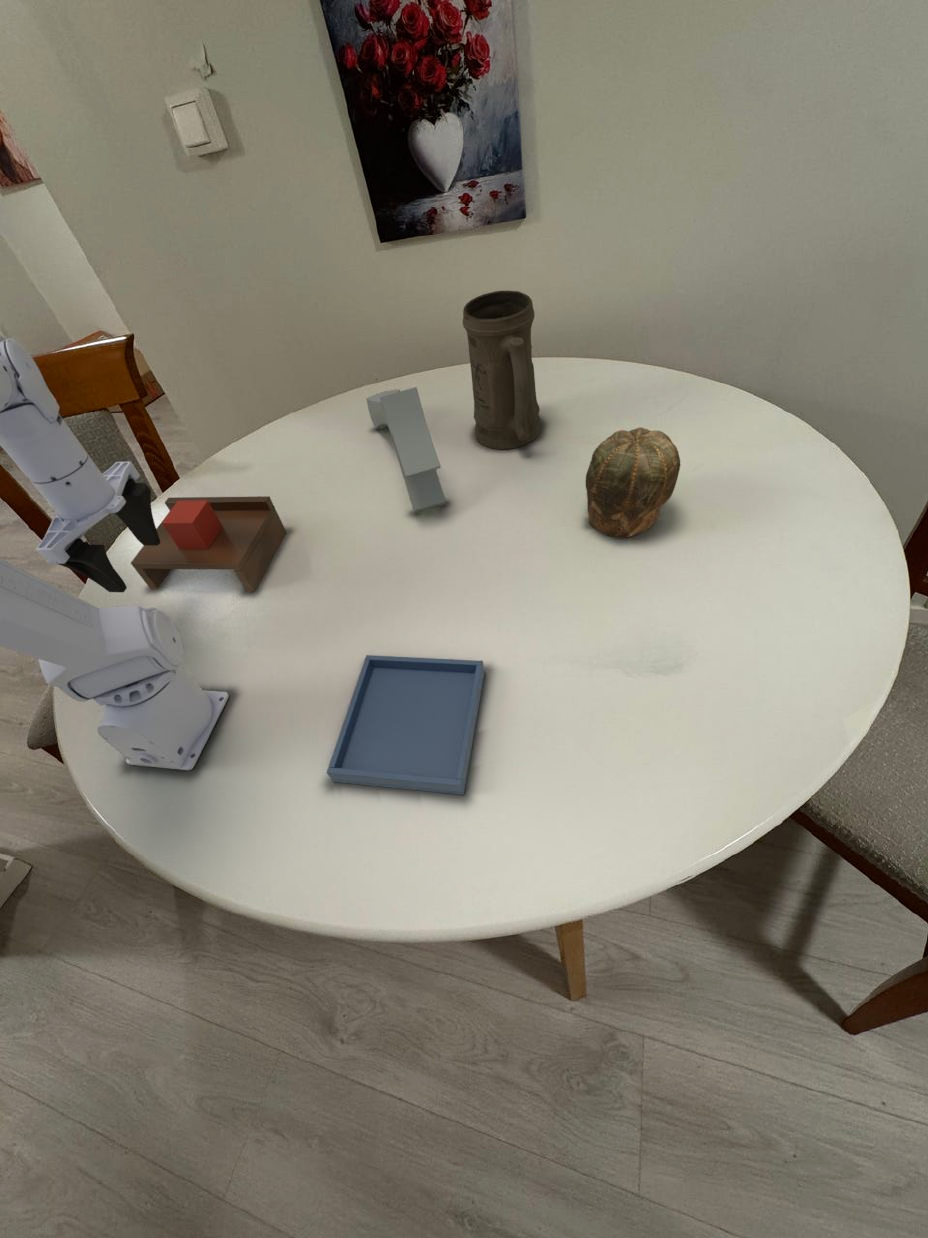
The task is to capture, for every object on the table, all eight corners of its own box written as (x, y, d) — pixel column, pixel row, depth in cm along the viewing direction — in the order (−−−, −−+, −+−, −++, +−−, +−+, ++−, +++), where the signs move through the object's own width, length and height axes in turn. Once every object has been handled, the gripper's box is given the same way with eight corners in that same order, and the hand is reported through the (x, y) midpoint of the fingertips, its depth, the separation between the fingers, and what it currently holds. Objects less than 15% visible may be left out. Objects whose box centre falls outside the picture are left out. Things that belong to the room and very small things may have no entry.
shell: (672, 547, 72) (686, 464, 63) (582, 544, 75) (583, 464, 66) (670, 493, 79) (683, 411, 70) (587, 492, 81) (589, 413, 72)
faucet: (393, 492, 105) (414, 524, 77) (364, 396, 98) (375, 394, 71) (426, 483, 105) (458, 511, 78) (399, 387, 99) (424, 380, 71)
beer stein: (462, 425, 97) (446, 301, 82) (519, 404, 99) (514, 279, 84) (505, 475, 88) (497, 346, 73) (566, 450, 90) (571, 320, 74)
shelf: (254, 592, 77) (233, 555, 72) (150, 589, 81) (123, 554, 76) (286, 532, 85) (269, 496, 80) (190, 531, 88) (168, 497, 83)
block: (208, 549, 76) (192, 522, 73) (178, 549, 77) (161, 522, 74) (223, 526, 79) (207, 500, 76) (194, 526, 80) (177, 500, 77)
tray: (463, 795, 54) (460, 785, 53) (332, 782, 57) (326, 772, 56) (484, 671, 63) (482, 660, 62) (370, 665, 66) (366, 654, 65)
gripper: (46, 513, 52) (132, 614, 62) (132, 424, 61) (194, 525, 71) (-17, 513, 53) (76, 611, 63) (75, 427, 62) (144, 525, 73)
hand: (135, 566), depth 67 cm, fingers open, 7 cm apart
